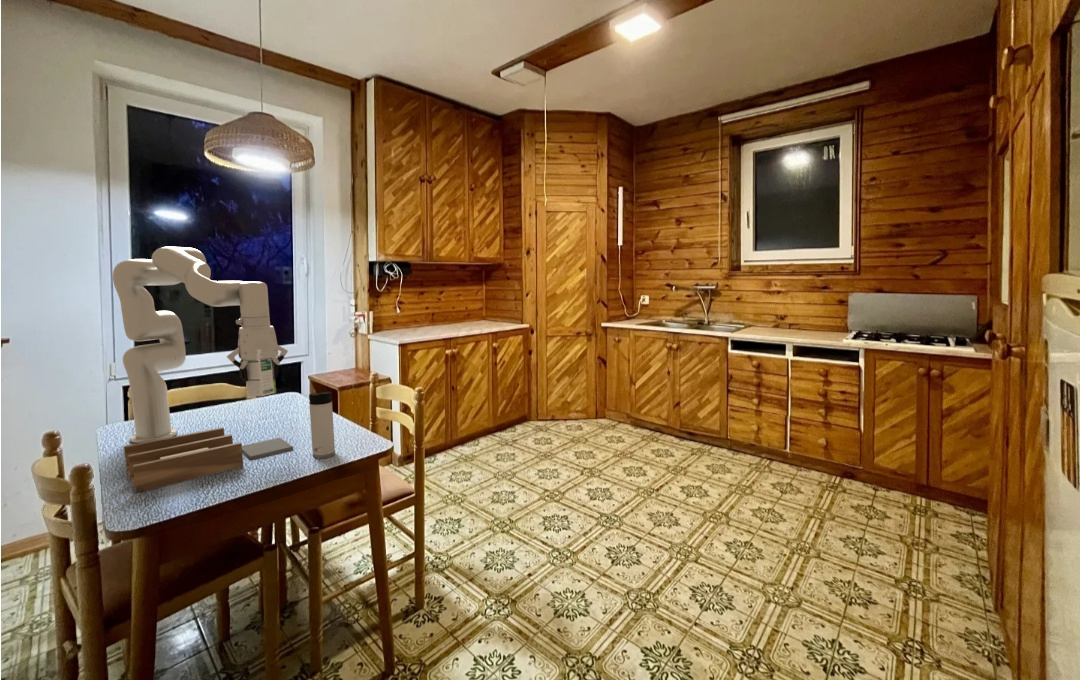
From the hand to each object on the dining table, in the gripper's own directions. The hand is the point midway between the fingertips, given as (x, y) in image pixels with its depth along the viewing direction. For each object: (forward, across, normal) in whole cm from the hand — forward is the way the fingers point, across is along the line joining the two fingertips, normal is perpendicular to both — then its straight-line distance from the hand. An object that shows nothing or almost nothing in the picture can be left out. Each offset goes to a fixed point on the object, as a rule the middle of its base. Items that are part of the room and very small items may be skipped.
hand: (260, 378), depth 151 cm
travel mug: (+23, +11, -18) cm, 31 cm away
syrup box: (+5, 0, -1) cm, 5 cm away
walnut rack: (+23, -21, 0) cm, 31 cm away
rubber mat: (+23, 0, 0) cm, 23 cm away
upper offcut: (+21, -21, -5) cm, 30 cm away
